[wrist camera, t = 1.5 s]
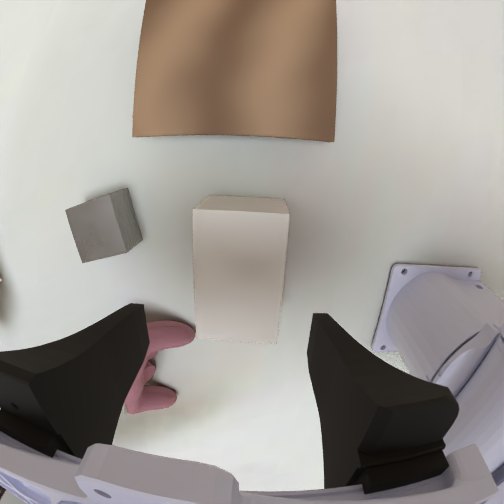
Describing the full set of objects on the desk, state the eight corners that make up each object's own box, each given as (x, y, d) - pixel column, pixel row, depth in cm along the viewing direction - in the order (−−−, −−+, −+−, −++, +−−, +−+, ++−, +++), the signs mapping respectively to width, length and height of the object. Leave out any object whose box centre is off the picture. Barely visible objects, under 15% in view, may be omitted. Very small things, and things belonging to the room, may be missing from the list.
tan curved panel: (328, 11, 15) (335, -4, 13) (325, 142, 18) (334, 141, 16) (158, 11, 15) (146, -2, 13) (147, 137, 19) (132, 136, 16)
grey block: (128, 187, 20) (109, 194, 17) (143, 239, 21) (127, 252, 19) (86, 201, 21) (65, 209, 18) (101, 249, 22) (82, 263, 19)
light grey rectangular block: (284, 198, 20) (289, 214, 15) (275, 304, 23) (277, 343, 18) (209, 194, 20) (192, 209, 15) (209, 300, 23) (196, 337, 18)
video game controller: (161, 299, 25) (95, 324, 18) (202, 328, 23) (137, 365, 17) (147, 375, 28) (96, 405, 22) (179, 402, 26) (129, 439, 20)
